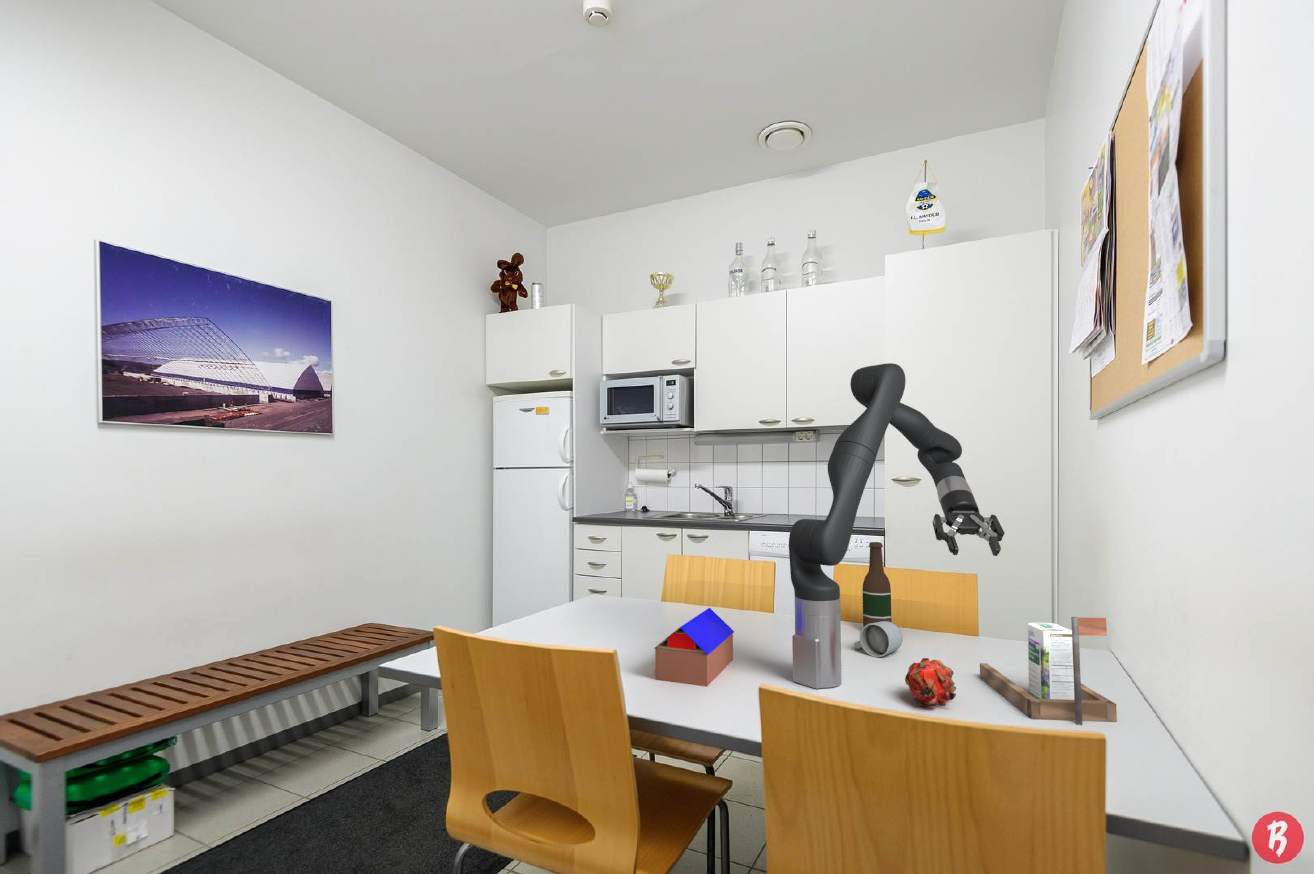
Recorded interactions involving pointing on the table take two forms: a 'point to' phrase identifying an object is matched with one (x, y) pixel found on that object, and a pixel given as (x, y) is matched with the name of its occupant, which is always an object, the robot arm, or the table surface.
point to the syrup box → (1050, 661)
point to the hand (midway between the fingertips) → (976, 553)
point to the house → (695, 651)
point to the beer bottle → (876, 589)
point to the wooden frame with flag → (1080, 709)
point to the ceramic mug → (880, 638)
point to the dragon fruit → (930, 682)
